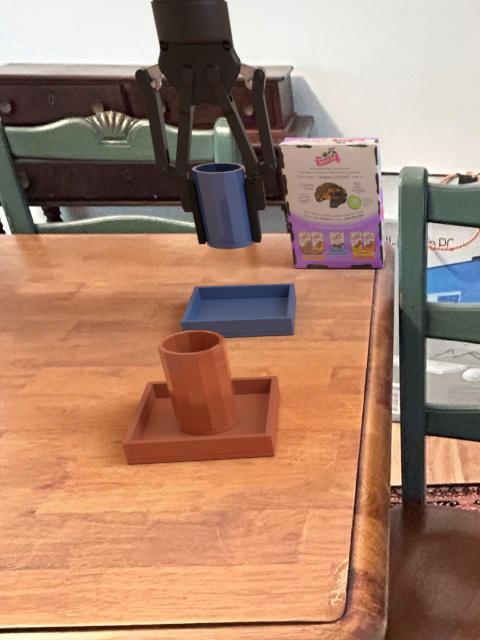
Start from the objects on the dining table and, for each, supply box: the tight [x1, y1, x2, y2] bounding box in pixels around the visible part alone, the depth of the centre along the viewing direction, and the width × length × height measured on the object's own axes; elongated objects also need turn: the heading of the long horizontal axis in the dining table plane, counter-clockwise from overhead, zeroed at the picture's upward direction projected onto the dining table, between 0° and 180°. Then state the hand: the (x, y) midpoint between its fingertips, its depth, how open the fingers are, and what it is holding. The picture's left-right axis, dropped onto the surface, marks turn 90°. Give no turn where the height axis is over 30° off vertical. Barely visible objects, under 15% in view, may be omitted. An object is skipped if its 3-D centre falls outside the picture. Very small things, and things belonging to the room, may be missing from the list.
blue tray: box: [180, 282, 297, 339], centre depth 95 cm, size 13×13×2 cm
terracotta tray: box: [121, 375, 281, 465], centre depth 72 cm, size 13×13×2 cm
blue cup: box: [191, 162, 255, 250], centre depth 87 cm, size 6×6×8 cm
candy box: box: [278, 137, 386, 269], centre depth 108 cm, size 14×6×16 cm, turn 90°
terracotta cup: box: [157, 330, 239, 435], centre depth 70 cm, size 6×6×8 cm
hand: (230, 240), depth 89 cm, fingers closed on blue cup, 6 cm apart
